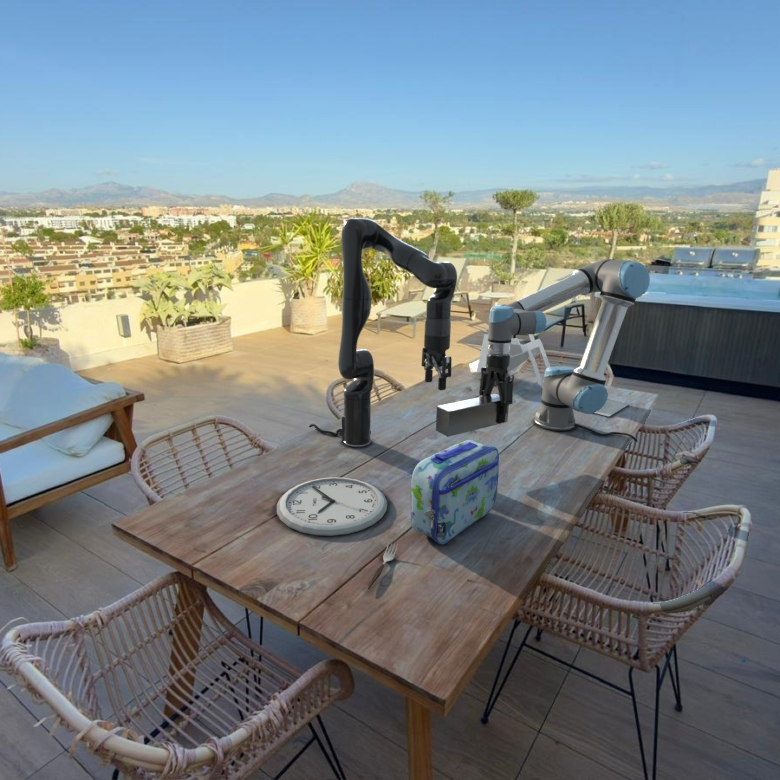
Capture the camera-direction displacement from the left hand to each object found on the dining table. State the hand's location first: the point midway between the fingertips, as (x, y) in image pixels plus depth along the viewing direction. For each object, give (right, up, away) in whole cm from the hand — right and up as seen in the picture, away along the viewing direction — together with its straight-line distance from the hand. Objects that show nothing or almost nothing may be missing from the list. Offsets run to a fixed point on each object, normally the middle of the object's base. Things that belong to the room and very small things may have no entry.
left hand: (435, 385), depth 157 cm
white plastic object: (+44, +1, +99) cm, 108 cm away
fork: (-15, -41, -41) cm, 60 cm away
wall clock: (-29, -33, -14) cm, 46 cm away
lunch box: (+3, -36, -22) cm, 43 cm away
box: (+14, -13, +18) cm, 26 cm away
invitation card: (+78, -9, +69) cm, 105 cm away
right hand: (+22, -11, +22) cm, 33 cm away
